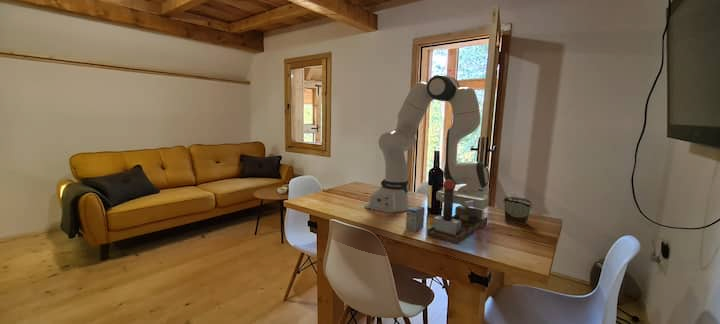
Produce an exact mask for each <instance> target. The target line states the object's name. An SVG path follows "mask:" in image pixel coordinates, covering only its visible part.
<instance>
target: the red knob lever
mask: <svg viewBox="0 0 720 324" xmlns="http://www.w3.org/2000/svg"><path fill="white" fill-rule="evenodd" d="M442 186H443V187H442V188H443V190H445V192H444V202H443V213H442V214H443V215H436V216H434V218H433V226H434V231H438V232H442V233H445V234H449V235H453V236H456V235H458V234H460V231H461V220H457V219H452V216H453V205H454V203H453V191H455V189H456V185H455V182H454V181H453V180H445V181H443V185H442Z"/></svg>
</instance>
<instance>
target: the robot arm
mask: <svg viewBox="0 0 720 324" xmlns="http://www.w3.org/2000/svg"><path fill="white" fill-rule="evenodd" d="M434 100H435V101H439V102H449V104H450V106H451V111H452V123H451V125H450V127H449V128H448V130H447V132H446V138H445V139H446V140H445V141H446V142H445V163H444V167H443V178H444V180H445V181H446V180H453V181H454V182H455V186H459V185H463V186H460V187H459V188H458V189H457V190H454V191H453V204H456V205H459V206H464V207H469V208H474V209H479V210H485V209H487V208H488V207H489V202H490V187H489V181H490V180H489V179H490V175H489V173H490V172H489V170H488V168H487V167H486V165H485V164H484V163H483V162H482V161H469V162H468V161H467V162H458V160H457V159H458V157H457V156H458V145H459V143H460V141H461V140H462V139H464V138H465V137H467V136H469V135H471V134H473V132H474V133H475V131H476V130H477V129H478V128H479V126H480V124H481V112H480V111H481V110H480V105H479V100H478V96H477V94H476V91H475V90H474V88H471V87H470V86H464V87H460V84H459V81H458V80H457V79H456V78H454V77H452V76H451V75H445V74H436V75H433V76H432V77H431V78H430V79H428V81H427V82H425V81H417V82H416V83H414V84H413V86H412V87H411V89H410V90H409V92H408V93H407V95H406V98H405V99H404V101H403V103H402V105H401V107H400V110H399V111H398V114H397V124H396V128H395V129H394V130H388V131H385V132H384V133H382V134H381V135H380V136H379V139H378V147H379V149H380V150H381V152H382V155H383V158H384V164H385V166H384V167H385V169H384V170H385V177H384V178H383V179H382V180H381V181H380V185H381V187H379V188H378V189H376V190H374V191H373V192H372V193H371V194H370V196H369V201H367V202H366V203H365V205H364V208H365V207H366V209H369V208H370V209H369V210H374V209H375V211H379V210H380V212H385V213H391V214H392V213H398V212H400V213H401V212H407V209H408V208H410V207H411V206H410V203H409V196H408V192H409V180H408V178H409V177H408V176H409V175H408V174H409V173H408V172H409V165H408V163H407V161H406V157H405V156H406V155H405V152H408V151H409V150H411V149H413V147H414V146H415V143H416V135H417V133H418V132H417V131H418V128H419V126H420V123H421V121H422V119H423V117H424V116H425V114H426V112H427V110H428V108H429V106H430V104H431V103H432V102H433V101H434ZM444 192H445V189H439V190H438V191H436V194H435V196H436V200H437V201H440V203H444Z"/></svg>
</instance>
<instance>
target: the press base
mask: <svg viewBox="0 0 720 324" xmlns="http://www.w3.org/2000/svg"><path fill="white" fill-rule="evenodd" d="M452 219H457V220H461V231H460V234H458V235H456V236H453V235H449V234H445V233H442V232H438V231H434V225H431V226H430V227H428V228H427V233H426V236H427V237H429V238H432V239H436V240H439V241H443V242H446V243H450V244H453V245H457V246H458V245H460V243H462V242H463V241H465V240H466V239H467V238H470V236H472V235H473V234H476V233H477V232H479V230H481V229H482V228H484V227H485V226H487V225H488V217H484V218H483V209H480V208H475V207H464V206H462V205H457V206H455V213H454V214H452Z"/></svg>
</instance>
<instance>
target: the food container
mask: <svg viewBox="0 0 720 324" xmlns="http://www.w3.org/2000/svg"><path fill="white" fill-rule="evenodd" d="M502 202H504V220H507V221H511V222H513V223H515V224H516V223H517V224H520V225H523V226H527V225H528V220H529V216H530V213H531V212H530V211H531V208H533V203H532V201H531V200H529V199H527V198H523V197H517V196H505V197H504V198H503V201H502Z"/></svg>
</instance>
